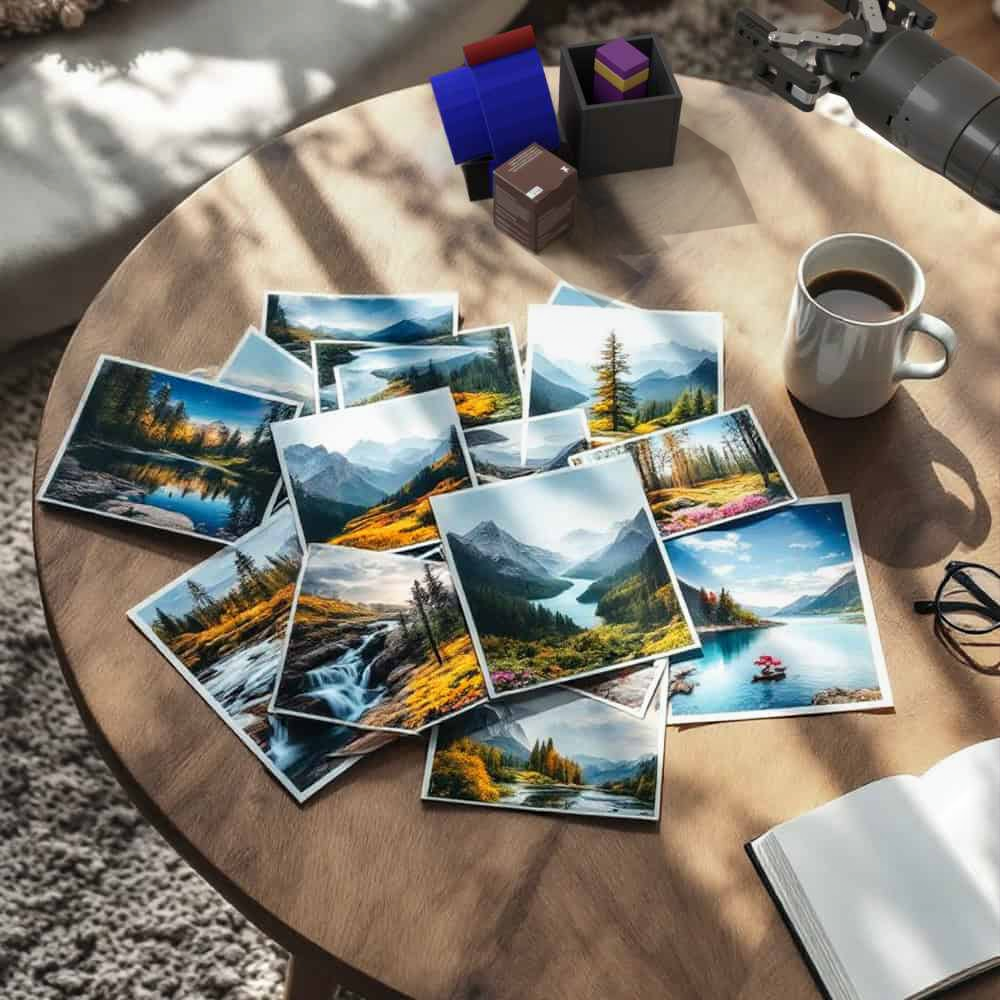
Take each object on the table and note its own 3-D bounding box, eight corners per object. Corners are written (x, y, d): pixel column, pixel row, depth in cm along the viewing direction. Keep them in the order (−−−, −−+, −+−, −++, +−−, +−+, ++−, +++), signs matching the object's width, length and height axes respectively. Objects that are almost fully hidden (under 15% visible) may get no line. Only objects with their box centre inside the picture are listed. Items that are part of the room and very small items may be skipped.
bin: (649, 102, 136) (657, 33, 129) (673, 165, 130) (683, 96, 123) (557, 114, 135) (560, 45, 128) (578, 178, 130) (582, 110, 122)
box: (534, 196, 128) (535, 140, 122) (576, 226, 126) (579, 170, 120) (491, 226, 126) (490, 170, 120) (534, 257, 123) (535, 201, 117)
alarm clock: (565, 185, 129) (571, 63, 116) (449, 204, 127) (443, 83, 115) (537, 109, 135) (539, -14, 123) (426, 127, 134) (417, 4, 122)
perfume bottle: (613, 116, 134) (620, 36, 125) (641, 138, 132) (650, 58, 123) (590, 129, 133) (595, 49, 124) (617, 151, 131) (624, 71, 122)
